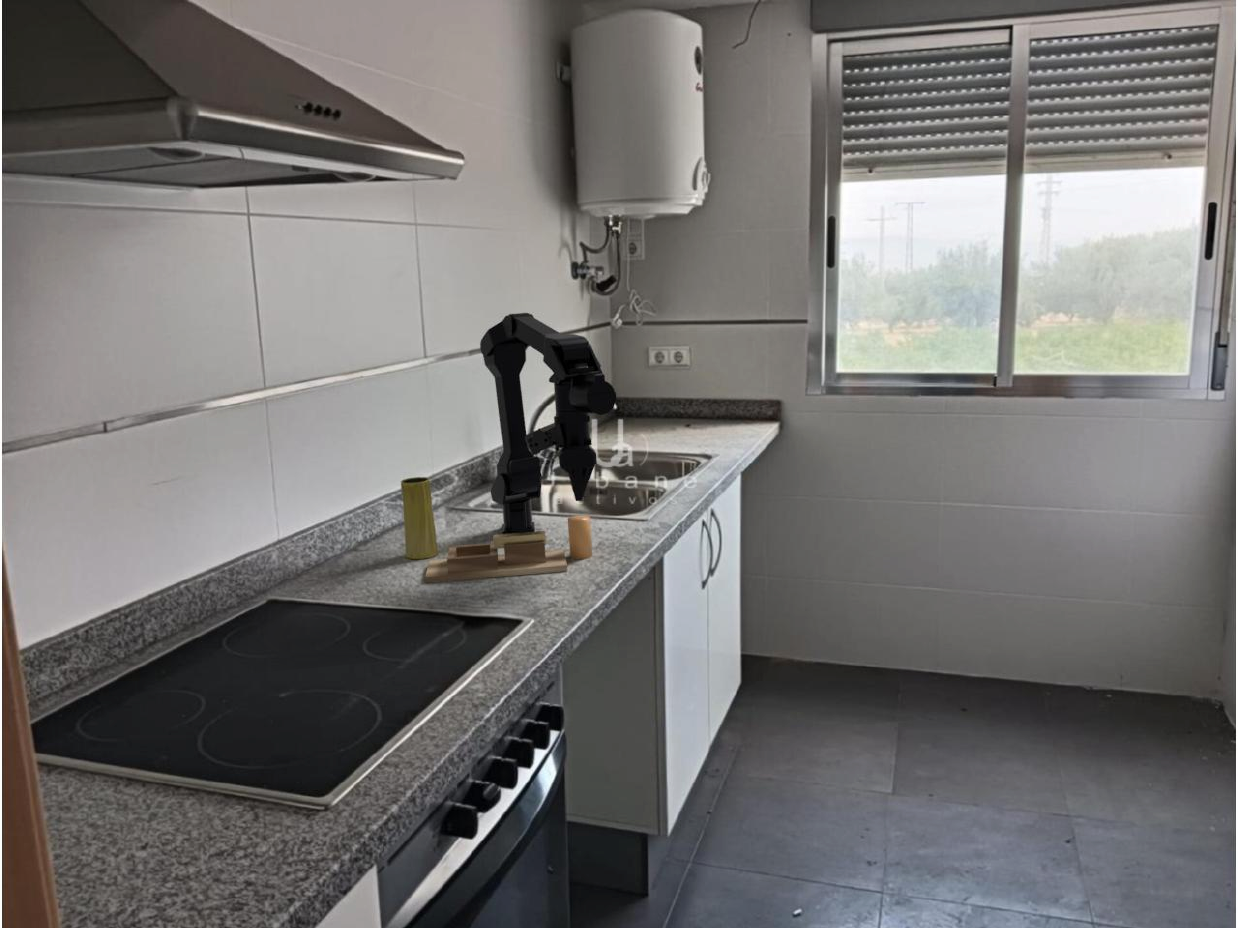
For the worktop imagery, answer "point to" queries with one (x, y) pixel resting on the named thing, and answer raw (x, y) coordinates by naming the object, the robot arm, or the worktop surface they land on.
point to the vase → (418, 518)
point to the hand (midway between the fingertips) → (577, 496)
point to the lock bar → (518, 538)
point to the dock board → (495, 562)
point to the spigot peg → (580, 537)
